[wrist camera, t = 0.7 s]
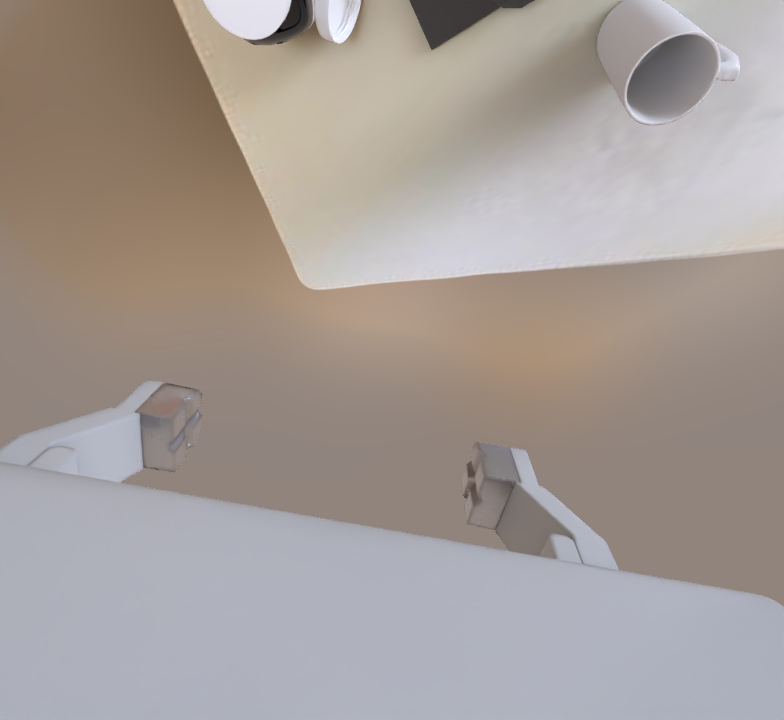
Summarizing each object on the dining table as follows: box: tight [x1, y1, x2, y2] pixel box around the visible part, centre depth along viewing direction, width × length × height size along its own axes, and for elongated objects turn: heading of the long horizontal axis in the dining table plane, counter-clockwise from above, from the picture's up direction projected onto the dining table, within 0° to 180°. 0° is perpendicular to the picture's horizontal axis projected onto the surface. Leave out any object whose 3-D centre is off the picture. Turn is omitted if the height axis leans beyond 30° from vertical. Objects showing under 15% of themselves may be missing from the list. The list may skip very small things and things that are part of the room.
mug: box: [597, 0, 740, 125], centre depth 40 cm, size 10×7×12 cm, turn 92°
